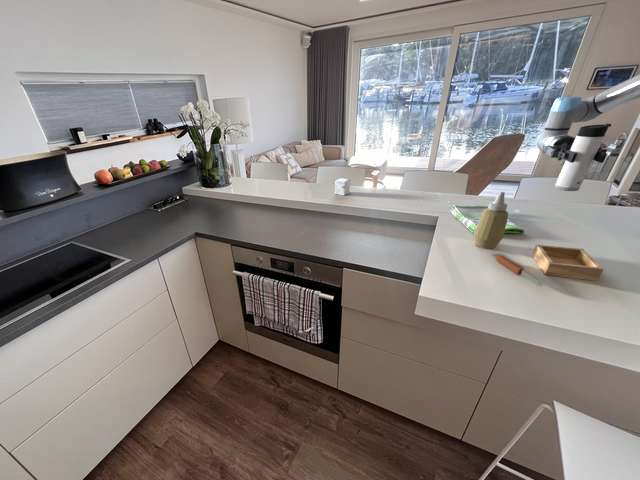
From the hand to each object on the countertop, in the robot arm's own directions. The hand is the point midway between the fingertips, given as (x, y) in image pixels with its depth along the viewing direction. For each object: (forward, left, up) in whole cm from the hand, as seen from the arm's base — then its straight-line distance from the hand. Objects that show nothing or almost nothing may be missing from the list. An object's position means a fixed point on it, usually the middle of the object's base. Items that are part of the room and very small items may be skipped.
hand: (588, 158), depth 88 cm
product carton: (+71, -54, -25) cm, 92 cm away
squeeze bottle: (+27, +10, -25) cm, 38 cm away
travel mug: (-1, -5, -11) cm, 12 cm away
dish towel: (+19, -10, -25) cm, 33 cm away
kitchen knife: (+27, +28, -25) cm, 46 cm away
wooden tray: (+13, +24, -25) cm, 37 cm away
